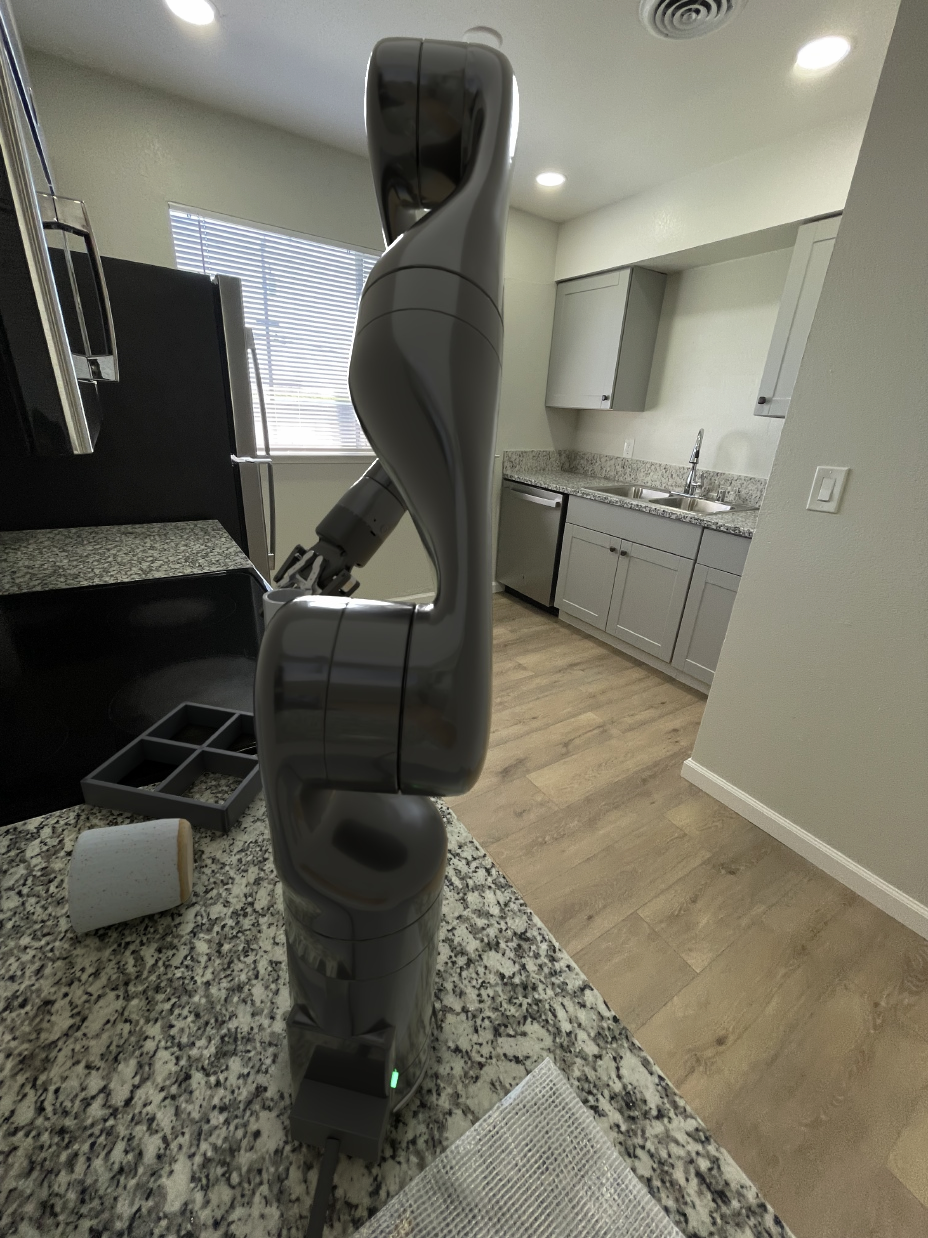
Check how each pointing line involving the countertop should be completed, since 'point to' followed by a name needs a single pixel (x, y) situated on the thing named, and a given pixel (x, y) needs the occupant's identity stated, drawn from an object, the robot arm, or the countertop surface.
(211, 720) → the dark grey divided tray
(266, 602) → the white tumbler
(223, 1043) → the countertop surface
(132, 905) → the ceramic mug
